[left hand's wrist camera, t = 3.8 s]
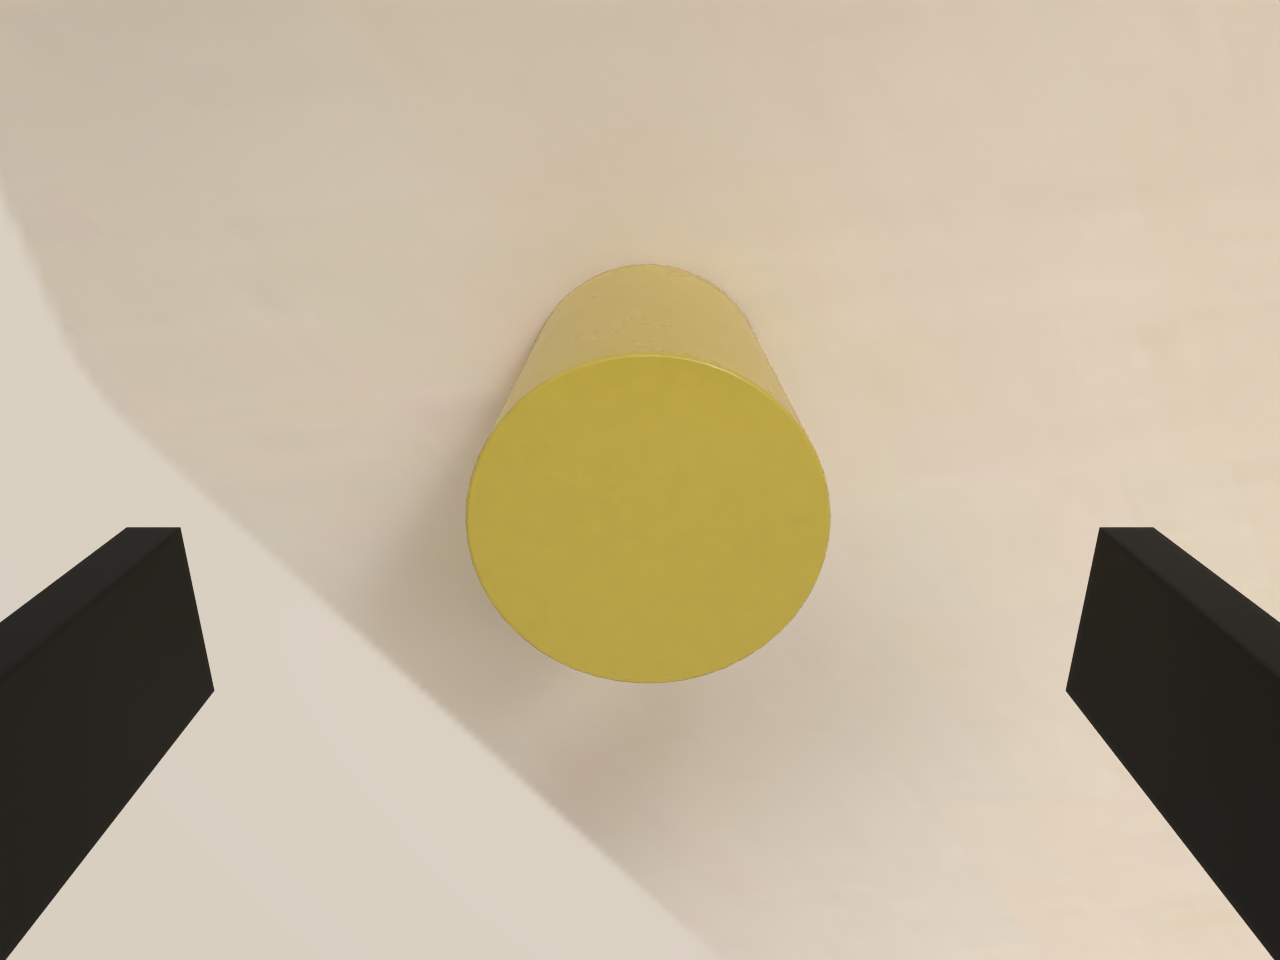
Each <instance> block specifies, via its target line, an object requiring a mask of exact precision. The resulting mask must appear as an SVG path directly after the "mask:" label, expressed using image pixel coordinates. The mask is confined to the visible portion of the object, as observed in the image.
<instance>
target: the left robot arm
mask: <svg viewBox="0 0 1280 960" xmlns="http://www.w3.org/2000/svg"><path fill="white" fill-rule="evenodd" d="M213 692H214V687H213V682H212V677H211V672H210V668H209V663H208V658H207V653H206V648H205V644H204V639H203V634H202V629H201V624H200V620H199V615H198V610H197V605H196V600H195V595H194V591H193V586H192V581H191V576H190V571H189V567H188V562H187V557H186V552H185V547H184V543H183V538H182V533H181V528H180V527H127V528H125V529H124V530H123V531H121V532H120V533H119V534H117V535H116V536H115V537H113V538H112V539H111V540H109V541H108V542H107V543H105V544H104V545H103V546H101V547H100V548H99V549H97V550H96V551H95V552H93V553H92V554H91V555H89V556H88V557H87V558H85V559H84V560H83V561H81V562H80V563H79V564H77V565H76V566H75V567H73V568H72V569H71V570H69V571H68V572H67V573H65V574H64V575H63V576H61V577H60V578H59V579H57V580H56V581H55V582H53V583H52V584H51V585H49V586H48V587H47V588H45V589H44V590H43V591H41V592H40V593H39V594H37V595H36V596H35V597H34V598H32V599H31V600H30V601H28V602H27V603H25V604H24V605H23V606H22V607H20V608H19V609H18V610H16V611H15V612H14V613H12V614H11V615H10V616H8V617H7V618H6V619H4V620H3V621H2V622H0V960H6V959H7V957H8V956H9V955H10V954H11V952H12V951H13V950H14V948H15V947H16V946H17V944H18V943H19V942H20V941H21V939H22V938H23V937H24V936H25V934H26V933H27V932H28V930H29V929H30V928H31V926H32V925H33V924H34V923H35V921H36V920H37V919H38V917H39V916H40V915H41V914H42V912H43V911H44V910H45V908H46V907H47V906H48V905H49V903H50V902H51V901H52V899H53V898H54V897H55V896H56V894H57V893H58V892H59V890H60V889H61V888H62V886H63V885H64V884H65V883H66V881H67V880H68V879H69V877H70V876H71V875H72V874H73V872H74V871H75V870H76V868H77V867H78V866H79V865H80V863H81V862H82V861H83V859H84V858H85V857H86V856H87V854H88V853H89V852H90V850H91V849H92V848H93V847H94V845H95V844H96V843H97V841H98V840H99V839H100V837H101V836H102V835H103V834H104V832H105V831H106V830H107V828H108V827H109V826H110V825H111V823H112V822H113V821H114V819H115V818H116V817H117V816H118V814H119V813H120V812H121V810H122V809H123V808H124V807H125V805H126V804H127V803H128V801H129V800H130V799H131V798H132V796H133V795H134V794H135V792H136V791H137V790H138V788H139V787H140V786H141V785H142V783H143V782H144V781H145V779H146V778H147V777H148V776H149V774H150V773H151V772H152V770H153V769H154V768H155V767H156V765H157V764H158V763H159V761H160V760H161V759H162V757H163V756H164V755H165V754H166V752H167V751H168V750H169V748H170V747H171V746H172V745H173V743H174V742H175V741H176V739H177V738H178V737H179V735H180V734H181V733H182V732H183V730H184V729H185V728H186V727H187V725H188V724H189V723H190V721H191V720H192V719H193V717H194V716H195V715H196V714H197V712H198V711H199V710H200V708H201V707H202V706H203V705H204V703H205V702H206V701H207V699H208V698H209V697H210V696H211V694H212V693H213ZM1066 692H1067V693H1068V694H1069V696H1070V697H1071V698H1072V699H1073V701H1074V702H1075V703H1076V705H1077V706H1078V707H1079V709H1080V710H1081V711H1082V712H1083V714H1084V715H1085V716H1086V718H1087V719H1088V720H1089V721H1090V723H1091V724H1092V725H1093V727H1094V728H1095V729H1096V730H1097V732H1098V733H1099V734H1100V736H1101V737H1102V738H1103V739H1104V741H1105V742H1106V743H1107V745H1108V746H1109V747H1110V748H1111V750H1112V751H1113V752H1114V754H1115V755H1116V756H1117V758H1118V759H1119V760H1120V761H1121V763H1122V764H1123V765H1124V767H1125V768H1126V769H1127V770H1128V772H1129V773H1130V774H1131V776H1132V777H1133V778H1134V779H1135V781H1136V782H1137V783H1138V785H1139V786H1140V787H1141V788H1142V790H1143V791H1144V792H1145V794H1146V795H1147V796H1148V798H1149V799H1150V800H1151V801H1152V803H1153V804H1154V805H1155V807H1156V808H1157V809H1158V810H1159V812H1160V813H1161V814H1162V816H1163V817H1164V818H1165V819H1166V821H1167V822H1168V823H1169V825H1170V826H1171V827H1172V828H1173V830H1174V831H1175V832H1176V834H1177V835H1178V836H1179V837H1180V839H1181V840H1182V841H1183V843H1184V844H1185V845H1186V847H1187V848H1188V849H1189V850H1190V852H1191V853H1192V854H1193V856H1194V857H1195V858H1196V859H1197V861H1198V862H1199V863H1200V865H1201V866H1202V867H1203V868H1204V870H1205V871H1206V872H1207V874H1208V875H1209V876H1210V877H1211V879H1212V880H1213V881H1214V883H1215V884H1216V885H1217V887H1218V888H1219V889H1220V890H1221V892H1222V893H1223V894H1224V896H1225V897H1226V898H1227V899H1228V901H1229V902H1230V903H1231V905H1232V906H1233V907H1234V908H1235V910H1236V911H1237V912H1238V914H1239V915H1240V916H1241V917H1242V919H1243V920H1244V921H1245V923H1246V924H1247V925H1248V926H1249V928H1250V929H1251V930H1252V932H1253V933H1254V934H1255V936H1256V937H1257V938H1258V939H1259V941H1260V942H1261V943H1262V945H1263V946H1264V947H1265V948H1266V950H1267V951H1268V952H1269V954H1270V955H1271V956H1272V957H1273V959H1274V960H1280V622H1278V621H1277V620H1276V619H1274V618H1273V617H1272V616H1270V615H1269V614H1268V613H1266V612H1265V611H1264V610H1262V609H1261V608H1260V607H1259V606H1257V605H1256V604H1255V603H1253V602H1252V601H1251V600H1249V599H1248V598H1247V597H1245V596H1244V595H1243V594H1241V593H1240V592H1239V591H1237V590H1236V589H1235V588H1233V587H1232V586H1231V585H1229V584H1228V583H1227V582H1225V581H1224V580H1223V579H1221V578H1220V577H1219V576H1217V575H1216V574H1215V573H1213V572H1212V571H1211V570H1209V569H1208V568H1207V567H1205V566H1204V565H1203V564H1201V563H1200V562H1199V561H1197V560H1196V559H1195V558H1193V557H1192V556H1191V555H1189V554H1188V553H1187V552H1185V551H1184V550H1183V549H1181V548H1180V547H1179V546H1177V545H1176V544H1175V543H1173V542H1172V541H1171V540H1169V539H1168V538H1167V537H1165V536H1164V535H1163V534H1161V533H1160V532H1159V531H1157V530H1156V529H1155V528H1153V527H1100V528H1099V533H1098V538H1097V543H1096V547H1095V552H1094V557H1093V562H1092V567H1091V571H1090V576H1089V581H1088V586H1087V591H1086V595H1085V600H1084V605H1083V610H1082V615H1081V619H1080V624H1079V629H1078V634H1077V639H1076V644H1075V648H1074V653H1073V658H1072V663H1071V668H1070V672H1069V677H1068V682H1067V687H1066Z"/></svg>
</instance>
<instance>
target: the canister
mask: <svg viewBox="0 0 1280 960" xmlns="http://www.w3.org/2000/svg"><path fill="white" fill-rule="evenodd" d="M830 518H831V515H830V502H829V493H828V488H827V484H826V479H825V475H824V472H823V469H822V466H821V464H820V461H819V459H818V456H817V453H816V451H815V449H814V447H813V445H812V443H811V441H810V440H809V438H808V436H807V434H806V432H805V430H804V428H803V426H802V424H801V422H800V420H799V418H798V416H797V415H796V413H795V411H794V409H793V407H792V405H791V403H790V401H789V399H788V397H787V395H786V393H785V391H784V390H783V388H782V386H781V384H780V382H779V380H778V378H777V376H776V374H775V372H774V370H773V368H772V367H771V365H770V363H769V361H768V359H767V357H766V355H765V353H764V351H763V349H762V347H761V345H760V343H759V342H758V340H757V338H756V336H755V334H754V332H753V330H752V328H751V326H750V325H749V323H748V321H747V319H746V318H745V316H744V315H743V313H742V312H741V311H740V309H739V308H738V307H737V306H736V304H735V303H734V302H733V301H732V300H731V299H730V298H729V297H728V296H727V295H726V294H725V293H723V292H722V291H721V290H719V289H718V288H717V287H715V286H714V285H713V284H711V283H709V282H708V281H706V280H704V279H702V278H701V277H699V276H696V275H694V274H691V273H689V272H686V271H684V270H680V269H676V268H672V267H668V266H659V265H634V266H628V267H622V268H618V269H614V270H611V271H608V272H605V273H603V274H600V275H598V276H596V277H594V278H591V279H590V280H588V281H586V282H585V283H583V284H582V285H580V286H578V287H577V288H576V289H575V290H573V291H572V292H571V293H570V294H569V295H567V296H566V297H565V298H564V299H563V300H562V301H561V303H560V304H559V305H558V306H557V307H556V308H555V309H554V311H553V312H552V314H551V315H550V316H549V318H548V319H547V321H546V323H545V325H544V327H543V329H542V331H541V333H540V334H539V336H538V338H537V340H536V342H535V344H534V346H533V348H532V350H531V352H530V354H529V356H528V358H527V360H526V362H525V364H524V366H523V368H522V370H521V372H520V374H519V376H518V378H517V380H516V382H515V384H514V386H513V388H512V390H511V392H510V394H509V396H508V398H507V400H506V402H505V404H504V406H503V408H502V410H501V412H500V414H499V416H498V418H497V420H496V422H495V424H494V426H493V428H492V430H491V432H490V434H489V436H488V438H487V440H486V442H485V444H484V446H483V448H482V450H481V452H480V454H479V456H478V459H477V462H476V465H475V467H474V470H473V473H472V476H471V479H470V485H469V490H468V496H467V502H466V530H467V539H468V546H469V550H470V554H471V558H472V562H473V565H474V568H475V570H476V573H477V575H478V578H479V580H480V582H481V585H482V586H483V588H484V590H485V592H486V593H487V595H488V597H489V599H490V600H491V602H492V604H493V605H494V606H495V608H496V609H497V610H498V612H499V613H500V614H501V616H502V617H503V618H504V620H505V621H506V622H507V623H508V624H509V625H510V626H511V627H512V628H513V629H514V630H515V631H516V632H517V633H518V634H519V635H520V636H521V637H522V638H524V639H525V640H526V641H527V642H529V643H530V644H531V645H533V646H534V647H535V648H536V649H538V650H539V651H541V652H543V653H544V654H546V655H548V656H549V657H551V658H552V659H554V660H556V661H558V662H560V663H562V664H564V665H567V666H569V667H571V668H573V669H575V670H578V671H581V672H584V673H587V674H590V675H593V676H596V677H601V678H606V679H611V680H615V681H623V682H633V683H664V682H672V681H680V680H686V679H690V678H694V677H699V676H703V675H706V674H709V673H712V672H715V671H717V670H720V669H723V668H726V667H728V666H730V665H732V664H734V663H736V662H738V661H740V660H742V659H744V658H746V657H747V656H749V655H750V654H752V653H753V652H755V651H756V650H758V649H759V648H761V647H762V646H764V645H765V644H766V643H767V642H769V641H770V640H771V639H772V638H773V637H774V636H776V635H777V634H778V633H779V632H780V631H781V630H782V629H783V628H784V627H785V626H786V625H787V624H788V623H789V622H790V620H791V619H792V618H793V617H794V616H795V615H796V613H797V612H798V610H799V609H800V608H801V606H802V605H803V603H804V602H805V601H806V599H807V598H808V596H809V594H810V592H811V590H812V588H813V586H814V584H815V582H816V581H817V579H818V576H819V573H820V570H821V568H822V565H823V562H824V559H825V555H826V550H827V546H828V541H829V533H830Z"/></svg>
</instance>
